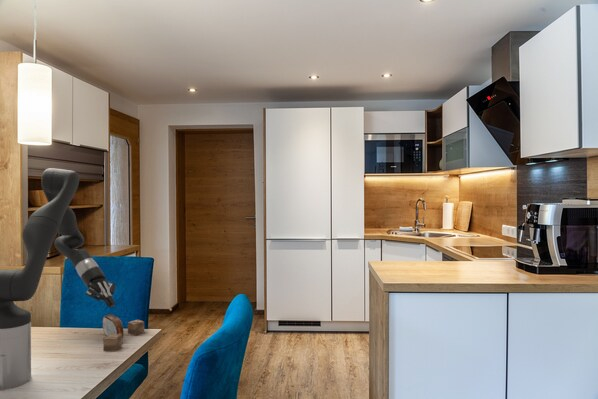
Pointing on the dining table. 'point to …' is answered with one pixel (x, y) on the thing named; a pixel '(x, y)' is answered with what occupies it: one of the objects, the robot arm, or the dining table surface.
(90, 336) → the dining table surface
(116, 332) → the tin
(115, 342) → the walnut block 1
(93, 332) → the dining table surface
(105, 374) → the dining table surface
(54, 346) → the dining table surface
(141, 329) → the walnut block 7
